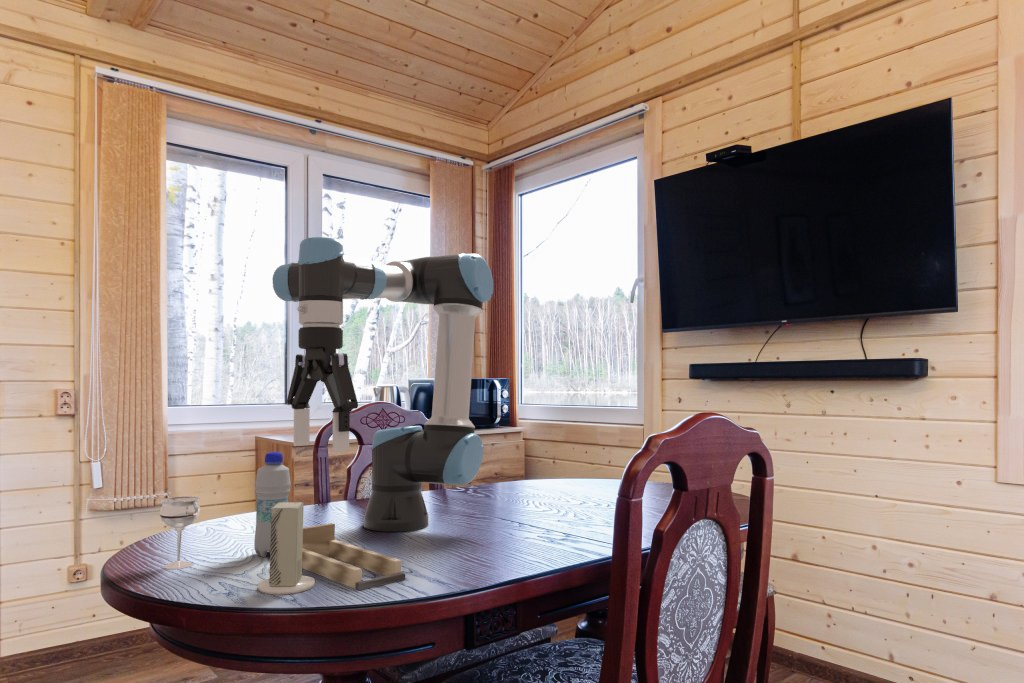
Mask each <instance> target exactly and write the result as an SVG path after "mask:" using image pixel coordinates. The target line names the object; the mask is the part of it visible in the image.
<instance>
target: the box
mask: <svg viewBox="0 0 1024 683" xmlns="http://www.w3.org/2000/svg"><path fill="white" fill-rule="evenodd" d="M304 506H305V504H304V502H301V501H295V502H294V501H293V502H291V501H288V502H280V503H278V504H276V505H275V506H274V507H272V508H271V543H270V552H269V577H268V579H269V586H271V587H291V586H296V585H297V583H298V582H299V581H300V579H301V578H302V576H303V568H302V546H303V528H304Z"/></svg>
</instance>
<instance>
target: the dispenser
mask: <svg viewBox="0 0 1024 683" xmlns="http://www.w3.org/2000/svg"><path fill="white" fill-rule="evenodd" d="M335 528H336V524H335V523H332V522H331V523H330V522H329V523H326V524H318V525H312V526H305V527H304V526H303V546H302V570H305V571H309V572H311V573H313V574H317V575H319V576H322V577H324V578H326V579H329V580H331V581H334V582H337V583H339V584H342V585H344V586H347V587H350V588H352V589H355V590H357V591H362V590H366V589H370V588H374V587H379V586H383V585H387V584H392V583H396V582H400V581H405V580H406V572H402V560H401V559H398V558H395V557H392V556H390V555H389V556H388V555H385V554H382V553H379V552H377V551H372V550H369V549H365V548H363V547H360V546H356V545H353V544H350V543H347V542H344V541H340V540H337V539H335V536H336V529H335ZM362 569H364V570H367V571H370V572H373V573H376V574H378V575H383V576H379V577H376V578H371V579H366V580H362V578H363V577H362V576H363V575H362V574H363V572H362V571H363V570H362Z"/></svg>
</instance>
